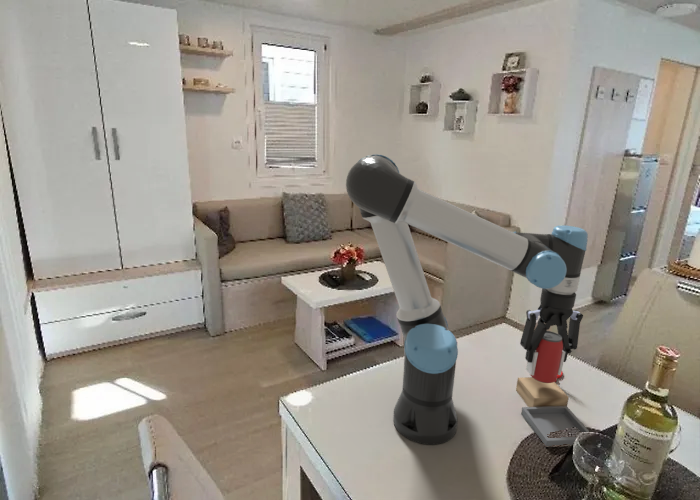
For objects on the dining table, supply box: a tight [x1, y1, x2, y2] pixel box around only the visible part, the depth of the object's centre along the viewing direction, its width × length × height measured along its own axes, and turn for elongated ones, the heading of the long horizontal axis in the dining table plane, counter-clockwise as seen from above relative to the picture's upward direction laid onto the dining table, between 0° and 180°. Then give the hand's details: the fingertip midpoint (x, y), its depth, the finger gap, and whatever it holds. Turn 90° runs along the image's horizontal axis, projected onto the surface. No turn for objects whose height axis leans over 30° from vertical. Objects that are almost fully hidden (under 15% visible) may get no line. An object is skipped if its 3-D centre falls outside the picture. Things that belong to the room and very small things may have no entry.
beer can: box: [530, 330, 563, 383], centre depth 106 cm, size 7×7×12 cm
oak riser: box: [515, 376, 570, 407], centre depth 109 cm, size 9×9×4 cm
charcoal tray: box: [520, 405, 590, 446], centre depth 99 cm, size 12×12×2 cm
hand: (543, 372), depth 108 cm, fingers closed on beer can, 6 cm apart
